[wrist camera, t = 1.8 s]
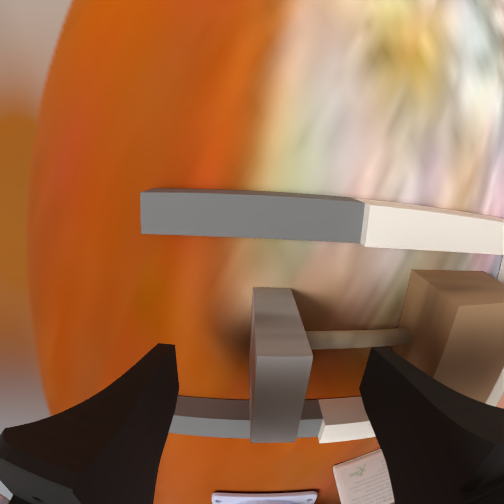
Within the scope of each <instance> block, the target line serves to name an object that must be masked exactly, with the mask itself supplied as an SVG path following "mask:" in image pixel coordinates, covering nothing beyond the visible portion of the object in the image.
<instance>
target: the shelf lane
mask: <svg viewBox="0 0 504 504" xmlns="http://www.w3.org/2000/svg"><path fill="white" fill-rule="evenodd" d="M354 199H356V200H359V201H361V202H364V203H365V208H364V217H363V225H362V233H361V241H360V243H361V244H362V245H363V246H364V247H378V248H396V249H414V250H431V251H448V252H464V253H480V254H496V255H503V258H502V262H501V266H500V271H499V275H498V278H497V280H498V281H500V282H502V283H503V284H504V218H499V217H493V216H488V215H482V214H476V213H469V212H463V211H456V210H450V209H443V208H436V207H428V206H421V205H413V204H405V203H397V202H388V201H379V200H369V199H359V198H354ZM503 393H504V367H503V369H502V371H501V374H500V376H499V378H498V380H497V382H496V384H495V386H494V388H493V389H492V391H491V393H490V395H489V397H488V399H487V401H486V402H485V404H488V405H491V406H495V407H496V405H497V403H498V402H499V400H500V398H501V397H502V395H503ZM318 401H319V405H320V408H321V412H322V416H323V421H322V425H321V428H320V431H319V435H318V439H319V443H330V442H339V441H348V440H356V439H363V438H370V437H376V436H375V433H374V431H373V428H372V426H371V424H370V421H369V419H368V416H367V414H366V411H365V409H364V405H363V401H362V397H361V396H359V397H348V398H335V399H318Z"/></svg>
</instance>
